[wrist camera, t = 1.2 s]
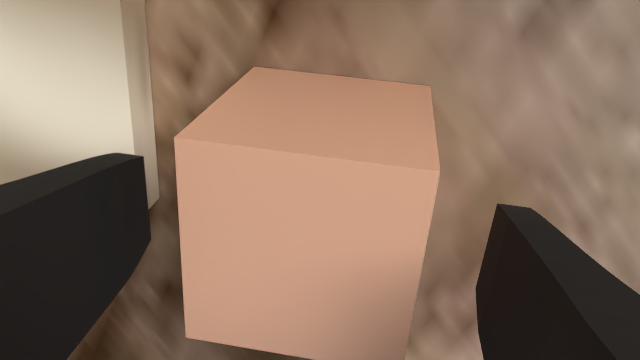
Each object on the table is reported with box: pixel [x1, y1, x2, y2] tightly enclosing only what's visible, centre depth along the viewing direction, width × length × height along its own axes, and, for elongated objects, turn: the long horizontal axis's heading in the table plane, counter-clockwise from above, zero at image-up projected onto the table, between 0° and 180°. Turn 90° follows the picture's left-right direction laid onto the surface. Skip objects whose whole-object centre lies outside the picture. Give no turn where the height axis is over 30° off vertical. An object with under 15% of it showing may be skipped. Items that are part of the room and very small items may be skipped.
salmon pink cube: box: [174, 67, 440, 360], centre depth 12 cm, size 4×4×5 cm
